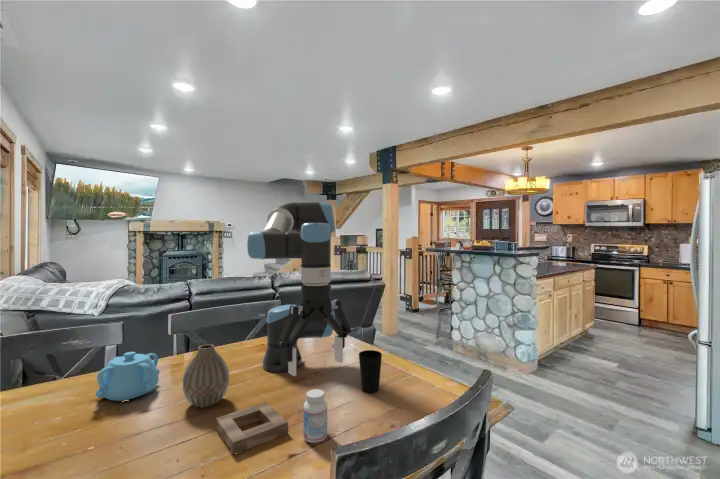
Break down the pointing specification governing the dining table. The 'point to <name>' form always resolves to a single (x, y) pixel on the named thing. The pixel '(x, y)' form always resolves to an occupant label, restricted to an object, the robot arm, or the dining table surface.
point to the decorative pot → (128, 376)
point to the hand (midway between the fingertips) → (316, 367)
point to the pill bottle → (315, 416)
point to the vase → (205, 377)
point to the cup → (370, 370)
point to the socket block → (255, 436)
